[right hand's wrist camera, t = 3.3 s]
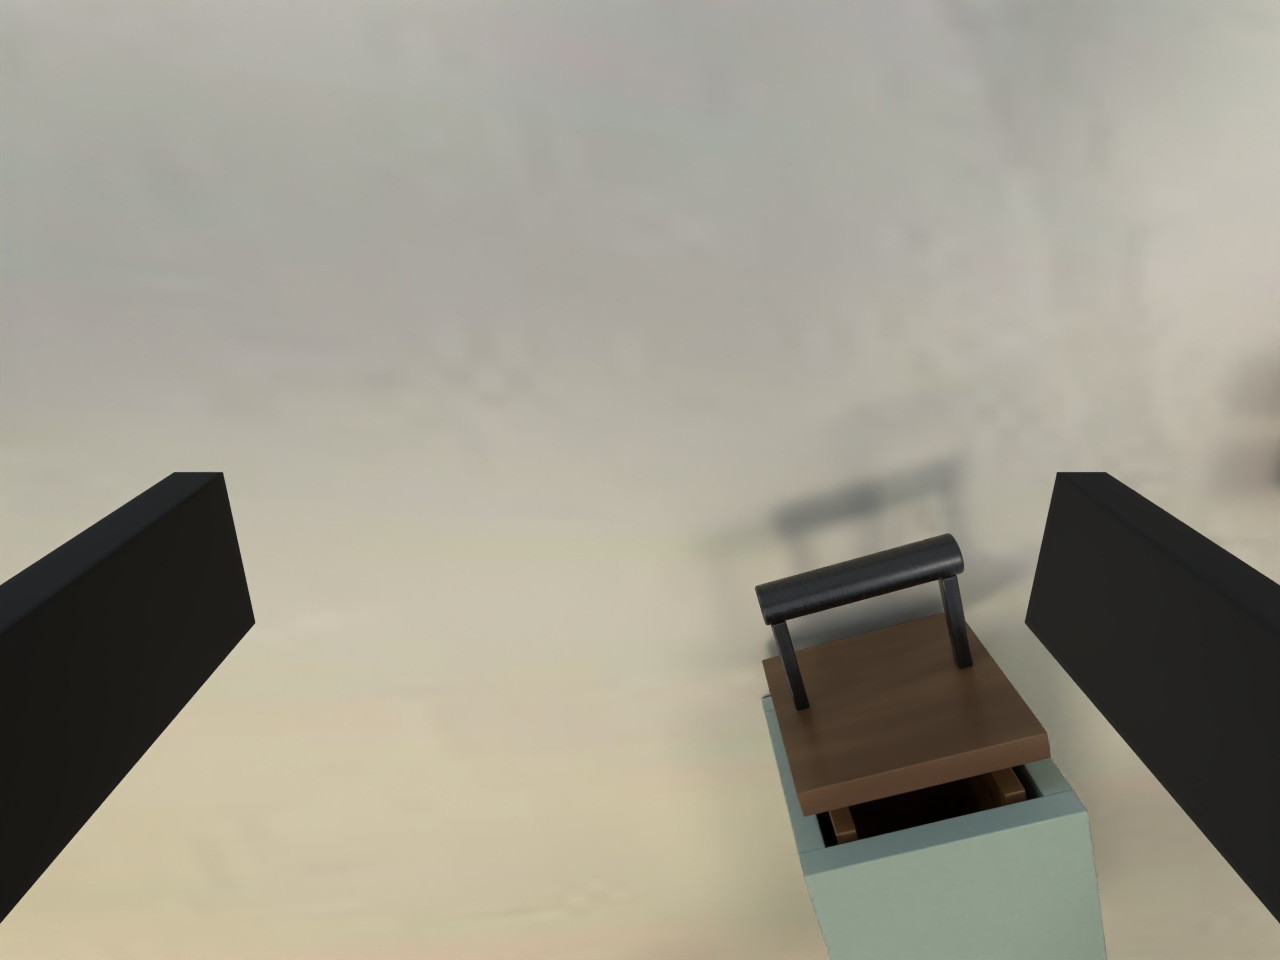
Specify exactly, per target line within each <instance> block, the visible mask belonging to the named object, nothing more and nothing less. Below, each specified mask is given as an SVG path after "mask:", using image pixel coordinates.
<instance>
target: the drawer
mask: <svg viewBox="0 0 1280 960" xmlns="http://www.w3.org/2000/svg"><path fill="white" fill-rule="evenodd" d="M963 571H964V562H963V557H962V554H961V551H960V548H959V546H958V544H957V542H956V540H955V539H954V537H953V536H952V535H951V534H943V535H940V536H936V537H932V538H929V539H925V540H922V541H918V542H914V543H911V544H907V545H903V546H900V547H896V548H892V549H889V550H885V551H881V552H878V553H874V554H871V555H867V556H863V557H860V558H856V559H852V560H849V561H845V562H841V563H838V564H834V565H831V566H827V567H823V568H820V569H816V570H812V571H809V572H805V573H801V574H798V575H794V576H791V577H787V578H783V579H780V580H776V581H772V582H769V583H765V584H761V585H758V586H756V587H755V591H756V594H757V597H758V601H759V604H760V608H761V611H762V614H763V618H764V621H765V624H766V625H771V627H772V630H773V634H774V637H775V641H776V644H777V647H778V651H779V654H780V656H777V657H773V658H769V659H765V660H762V663H763V667H764V671H765V675H766V678H767V682H768V686H769V690H770V694H771V698H772V702H773V706H774V709H775V713H776V717H777V721H778V725H779V729H780V733H781V737H782V740H783V744H784V748H785V752H786V756H787V760H788V764H789V768H790V771H791V775H792V779H793V783H794V787H795V791H796V794H797V798H798V801H799V804H800V807H801V811H802V814H803V816H804V817H806V816H810V815H815V814H819V813H823V812H827V811H828V814H829V818H830V821H831V825H832V828H833V831H834V835H835V838H836V842H837V845H840V844H844V843H849V842H853V841H857V840H861V839H866V838H870V837H874V836H878V835H883V834H887V833H891V832H895V831H900V830H904V829H908V828H912V827H917V826H921V825H925V824H929V823H934V822H938V821H942V820H946V819H951V818H955V817H959V816H963V815H968V814H972V813H976V812H980V811H985V810H989V809H993V808H997V807H1002V806H1006V805H1010V804H1014V803H1019V802H1023V801H1027V798H1026V792H1025V789H1024V787H1023V786H1022V784H1021V783H1020V781H1019V779H1018V778H1017V776H1016V775H1015V773H1014V772H1013V770H1012V768H1011V767H1014V766H1018V765H1023V764H1027V763H1031V762H1035V761H1039V760H1043V759H1048V758H1051V755H1050V748H1049V741H1048V735H1047V732H1046V730H1045V729H1044V728H1043V726H1042V725H1041V723H1040V722H1039V721H1038V719H1037V718H1036V717H1035V715H1034V714H1033V713H1032V711H1031V710H1030V708H1029V707H1028V706H1027V704H1026V703H1025V702H1024V700H1023V699H1022V698H1021V696H1020V695H1019V693H1018V692H1017V691H1016V689H1015V688H1014V687H1013V685H1012V684H1011V683H1010V681H1009V680H1008V678H1007V677H1006V676H1005V674H1004V673H1003V672H1002V670H1001V669H1000V668H999V666H998V665H997V663H996V662H995V661H994V659H993V658H992V657H991V655H990V654H989V653H988V651H987V650H986V648H985V647H984V646H983V644H982V643H981V642H980V640H979V639H978V638H977V636H976V635H975V633H974V632H973V631H972V629H971V628H970V627H969V625H968V624H967V623H966V621H965V617H964V612H963V607H962V601H961V596H960V590H959V585H958V580H957V576H956V575H957V574H961V573H962V572H963ZM935 580H938V581H939V586H940V591H941V596H942V602H943V607H944V612H943V613H940V614H936V615H932V616H928V617H924V618H921V619H917V620H913V621H909V622H905V623H902V624H898V625H894V626H890V627H886V628H883V629H879V630H875V631H871V632H868V633H864V634H860V635H856V636H852V637H849V638H845V639H841V640H837V641H833V642H830V643H826V644H822V645H818V646H815V647H811V648H807V649H803V650H799V651H796V652H794V649H793V645H792V642H791V638H790V634H789V631H788V627H787V624H786V620H790V619H793V618H797V617H801V616H805V615H808V614H812V613H816V612H819V611H823V610H827V609H831V608H834V607H838V606H842V605H845V604H849V603H853V602H857V601H860V600H864V599H868V598H872V597H875V596H879V595H883V594H886V593H890V592H894V591H898V590H901V589H905V588H909V587H912V586H916V585H920V584H924V583H927V582H931V581H935Z"/></svg>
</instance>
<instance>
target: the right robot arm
mask: <svg viewBox="0 0 1280 960" xmlns="http://www.w3.org/2000/svg"><path fill="white" fill-rule="evenodd" d="M254 624H255V619H254V614H253V610H252V605H251V600H250V596H249V591H248V586H247V582H246V577H245V572H244V568H243V563H242V559H241V554H240V549H239V545H238V540H237V535H236V531H235V526H234V521H233V517H232V512H231V507H230V503H229V498H228V493H227V489H226V484H225V480H224V475H223V472H174V473H172V474H171V475H169V476H168V477H166V478H165V479H163V480H162V481H160V482H158V483H157V484H155V485H154V486H152V487H151V488H149V489H148V490H146V491H145V492H143V493H142V494H140V495H138V496H137V497H135V498H134V499H132V500H131V501H129V502H128V503H126V504H125V505H123V506H122V507H120V508H118V509H117V510H115V511H114V512H112V513H111V514H109V515H108V516H106V517H105V518H103V519H102V520H100V521H98V522H97V523H95V524H94V525H92V526H91V527H89V528H88V529H86V530H85V531H83V532H82V533H80V534H78V535H77V536H75V537H74V538H72V539H71V540H69V541H68V542H66V543H65V544H63V545H62V546H60V547H58V548H57V549H55V550H54V551H52V552H51V553H49V554H48V555H46V556H45V557H43V558H42V559H40V560H38V561H37V562H35V563H34V564H32V565H31V566H29V567H28V568H26V569H25V570H23V571H22V572H20V573H18V574H17V575H15V576H14V577H12V578H11V579H9V580H8V581H6V582H5V583H3V584H2V585H0V923H1V922H2V921H3V920H4V918H5V917H6V916H7V915H8V914H9V913H10V911H11V910H12V909H13V908H14V907H15V905H16V904H17V903H18V902H19V901H20V900H21V898H22V897H23V896H24V895H25V894H26V893H27V891H28V890H29V889H30V888H31V887H32V885H33V884H34V883H35V882H36V881H37V880H38V878H39V877H40V876H41V875H42V874H43V872H44V871H45V870H46V869H47V868H48V867H49V865H50V864H51V863H52V862H53V861H54V860H55V858H56V857H57V856H58V855H59V854H60V852H61V851H62V850H63V849H64V848H65V847H66V845H67V844H68V843H69V842H70V841H71V839H72V838H73V837H74V836H75V835H76V834H77V832H78V831H79V830H80V829H81V828H82V827H83V825H84V824H85V823H86V822H87V821H88V819H89V818H90V817H91V816H92V815H93V814H94V812H95V811H96V810H97V809H98V808H99V806H100V805H101V804H102V803H103V802H104V801H105V799H106V798H107V797H108V796H109V795H110V794H111V792H112V791H113V790H114V789H115V788H116V786H117V785H118V784H119V783H120V782H121V781H122V779H123V778H124V777H125V776H126V775H127V773H128V772H129V771H130V770H131V769H132V768H133V766H134V765H135V764H136V763H137V762H138V761H139V759H140V758H141V757H142V756H143V755H144V753H145V752H146V751H147V750H148V749H149V748H150V746H151V745H152V744H153V743H154V742H155V740H156V739H157V738H158V737H159V736H160V735H161V733H162V732H163V731H164V730H165V729H166V728H167V726H168V725H169V724H170V723H171V722H172V720H173V719H174V718H175V717H176V716H177V715H178V713H179V712H180V711H181V710H182V709H183V707H184V706H185V705H186V704H187V703H188V702H189V700H190V699H191V698H192V697H193V696H194V695H195V693H196V692H197V691H198V690H199V689H200V687H201V686H202V685H203V684H204V683H205V682H206V680H207V679H208V678H209V677H210V676H211V674H212V673H213V672H214V671H215V670H216V669H217V667H218V666H219V665H220V664H221V663H222V662H223V660H224V659H225V658H226V657H227V656H228V654H229V653H230V652H231V651H232V650H233V649H234V647H235V646H236V645H237V644H238V643H239V641H240V640H241V639H242V638H243V637H244V636H245V634H246V633H247V632H248V631H249V630H250V629H251V627H252V626H253V625H254ZM1025 624H1026V625H1027V626H1028V627H1029V629H1030V630H1031V631H1032V632H1033V633H1034V634H1035V636H1036V637H1037V638H1038V639H1039V640H1040V641H1041V643H1042V644H1043V645H1044V646H1045V647H1046V649H1047V650H1048V651H1049V652H1050V653H1051V654H1052V656H1053V657H1054V658H1055V659H1056V660H1057V662H1058V663H1059V664H1060V665H1061V666H1062V667H1063V669H1064V670H1065V671H1066V672H1067V673H1068V674H1069V676H1070V677H1071V678H1072V679H1073V680H1074V682H1075V683H1076V684H1077V685H1078V686H1079V687H1080V689H1081V690H1082V691H1083V692H1084V693H1085V695H1086V696H1087V697H1088V698H1089V699H1090V700H1091V702H1092V703H1093V704H1094V705H1095V706H1096V707H1097V709H1098V710H1099V711H1100V712H1101V713H1102V715H1103V716H1104V717H1105V718H1106V719H1107V720H1108V722H1109V723H1110V724H1111V725H1112V726H1113V728H1114V729H1115V730H1116V731H1117V732H1118V733H1119V735H1120V736H1121V737H1122V738H1123V739H1124V740H1125V742H1126V743H1127V744H1128V745H1129V746H1130V748H1131V749H1132V750H1133V751H1134V752H1135V753H1136V755H1137V756H1138V757H1139V758H1140V759H1141V761H1142V762H1143V763H1144V764H1145V765H1146V766H1147V768H1148V769H1149V770H1150V771H1151V772H1152V773H1153V775H1154V776H1155V777H1156V778H1157V779H1158V781H1159V782H1160V783H1161V784H1162V785H1163V786H1164V788H1165V789H1166V790H1167V791H1168V792H1169V794H1170V795H1171V796H1172V797H1173V798H1174V799H1175V801H1176V802H1177V803H1178V804H1179V805H1180V806H1181V808H1182V809H1183V810H1184V811H1185V812H1186V814H1187V815H1188V816H1189V817H1190V818H1191V819H1192V821H1193V822H1194V823H1195V824H1196V825H1197V827H1198V828H1199V829H1200V830H1201V831H1202V832H1203V834H1204V835H1205V836H1206V837H1207V838H1208V839H1209V841H1210V842H1211V843H1212V844H1213V845H1214V847H1215V848H1216V849H1217V850H1218V851H1219V852H1220V854H1221V855H1222V856H1223V857H1224V858H1225V860H1226V861H1227V862H1228V863H1229V864H1230V865H1231V867H1232V868H1233V869H1234V870H1235V871H1236V872H1237V874H1238V875H1239V876H1240V877H1241V878H1242V880H1243V881H1244V882H1245V883H1246V884H1247V885H1248V887H1249V888H1250V889H1251V890H1252V891H1253V893H1254V894H1255V895H1256V896H1257V897H1258V898H1259V900H1260V901H1261V902H1262V903H1263V904H1264V905H1265V907H1266V908H1267V909H1268V910H1269V911H1270V913H1271V914H1272V915H1273V916H1274V917H1275V918H1276V920H1277V921H1278V922H1279V923H1280V585H1278V584H1277V583H1275V582H1274V581H1272V580H1271V579H1269V578H1268V577H1266V576H1265V575H1263V574H1262V573H1260V572H1258V571H1257V570H1255V569H1254V568H1252V567H1251V566H1249V565H1248V564H1246V563H1245V562H1243V561H1242V560H1240V559H1238V558H1237V557H1235V556H1234V555H1232V554H1231V553H1229V552H1228V551H1226V550H1225V549H1223V548H1222V547H1220V546H1218V545H1217V544H1215V543H1214V542H1212V541H1211V540H1209V539H1208V538H1206V537H1205V536H1203V535H1202V534H1200V533H1198V532H1197V531H1195V530H1194V529H1192V528H1191V527H1189V526H1188V525H1186V524H1185V523H1183V522H1182V521H1180V520H1178V519H1177V518H1175V517H1174V516H1172V515H1171V514H1169V513H1168V512H1166V511H1165V510H1163V509H1162V508H1160V507H1158V506H1157V505H1155V504H1154V503H1152V502H1151V501H1149V500H1148V499H1146V498H1145V497H1143V496H1142V495H1140V494H1138V493H1137V492H1135V491H1134V490H1132V489H1131V488H1129V487H1128V486H1126V485H1125V484H1123V483H1122V482H1120V481H1118V480H1117V479H1115V478H1114V477H1112V476H1111V475H1109V474H1108V473H1106V472H1057V475H1056V480H1055V484H1054V489H1053V493H1052V498H1051V503H1050V507H1049V512H1048V517H1047V521H1046V526H1045V531H1044V535H1043V540H1042V545H1041V549H1040V554H1039V559H1038V563H1037V568H1036V572H1035V577H1034V582H1033V586H1032V591H1031V596H1030V600H1029V605H1028V610H1027V614H1026V619H1025Z"/></svg>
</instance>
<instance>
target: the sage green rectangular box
mask: <svg viewBox="0 0 1280 960" xmlns="http://www.w3.org/2000/svg"><path fill="white" fill-rule="evenodd" d="M762 704H763V708H764V712H765V716H766V720H767V724H768V729H769V733H770V737H771V741H772V745H773V750H774V754H775V758H776V762H777V766H778V771H779V775H780V779H781V783H782V787H783V792H784V796H785V800H786V804H787V808H788V812H789V817H790V821H791V825H792V829H793V833H794V838H795V842H796V846H797V850H798V854H799V859H800V863H801V867H802V871H803V875H804V879H805V882H806V885H807V888H808V891H809V894H810V898H811V901H812V904H813V907H814V910H815V913H816V916H817V919H818V923H819V926H820V929H821V932H822V935H823V938H824V941H825V944H826V948H827V951H828V954H829V957H830V960H1107V955H1106V947H1105V940H1104V932H1103V924H1102V917H1101V909H1100V901H1099V894H1098V886H1097V878H1096V870H1095V863H1094V855H1093V847H1092V840H1091V832H1090V824H1089V817H1088V811H1087V809H1086V808H1085V806H1084V805H1083V804H1082V802H1081V801H1080V799H1079V798H1078V796H1077V795H1076V794H1075V792H1074V791H1073V790H1072V788H1071V786H1070V785H1069V783H1068V782H1067V781H1066V779H1065V778H1064V776H1063V775H1062V774H1061V772H1060V771H1059V769H1058V768H1057V767H1056V765H1055V764H1054V762H1053V761H1052V759H1051V758H1048V759H1043V760H1039V761H1035V762H1031V763H1027V764H1023V765H1018V766H1014V767H1011V768H1012V770H1013V772H1014V773H1015V775H1016V776H1017V778H1018V779H1019V781H1020V783H1021V784H1022V786H1023V787H1024V789H1025V792H1026V798H1027V801H1023V802H1019V803H1014V804H1010V805H1006V806H1002V807H997V808H993V809H989V810H985V811H980V812H976V813H972V814H968V815H963V816H959V817H955V818H951V819H946V820H942V821H938V822H934V823H929V824H925V825H921V826H917V827H912V828H908V829H904V830H900V831H895V832H891V833H887V834H883V835H878V836H874V837H870V838H866V839H861V840H857V841H853V842H849V843H844V844H840V845H837V842H836V838H835V835H834V831H833V828H832V825H831V821H830V818H829V814H828V811H827V812H823V813H819V814H815V815H810V816H806V817H804V816H803V814H802V811H801V807H800V804H799V801H798V798H797V794H796V791H795V787H794V783H793V779H792V775H791V771H790V768H789V764H788V760H787V756H786V752H785V748H784V744H783V740H782V737H781V733H780V729H779V725H778V721H777V717H776V713H775V709H774V706H773V702H772V698H771V696H769V697H765V698H762Z"/></svg>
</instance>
